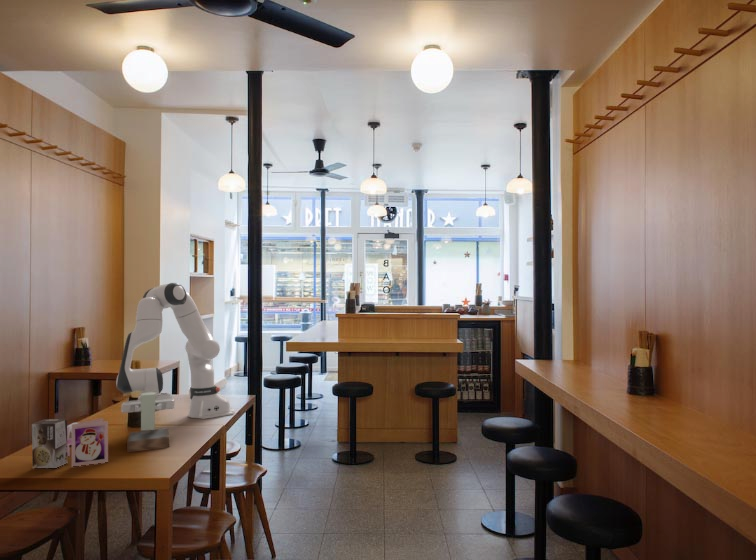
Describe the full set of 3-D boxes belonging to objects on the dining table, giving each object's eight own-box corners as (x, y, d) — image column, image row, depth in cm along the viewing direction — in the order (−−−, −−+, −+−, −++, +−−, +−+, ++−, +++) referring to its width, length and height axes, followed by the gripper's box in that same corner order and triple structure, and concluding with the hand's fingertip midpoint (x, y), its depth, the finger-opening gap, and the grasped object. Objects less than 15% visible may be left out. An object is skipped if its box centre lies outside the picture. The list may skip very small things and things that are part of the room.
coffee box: (68, 463, 184) (68, 418, 185) (55, 469, 178) (55, 423, 178) (45, 463, 185) (44, 418, 186) (31, 469, 179) (31, 423, 179)
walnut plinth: (168, 437, 216) (168, 427, 216) (169, 446, 202) (169, 436, 202) (129, 441, 210) (129, 432, 210) (127, 452, 196) (127, 441, 196)
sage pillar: (154, 426, 209) (154, 392, 210) (154, 429, 205) (154, 394, 205) (141, 427, 207) (141, 393, 208) (141, 430, 203) (141, 395, 203)
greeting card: (71, 468, 179) (71, 425, 180) (74, 461, 186) (74, 420, 186) (107, 463, 184) (107, 421, 184) (109, 457, 190) (109, 417, 191)
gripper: (121, 397, 214) (119, 403, 202) (174, 393, 222) (174, 398, 210) (121, 412, 214) (119, 419, 201) (173, 407, 222) (174, 414, 209)
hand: (148, 409), depth 206 cm, fingers closed on sage pillar, 5 cm apart
